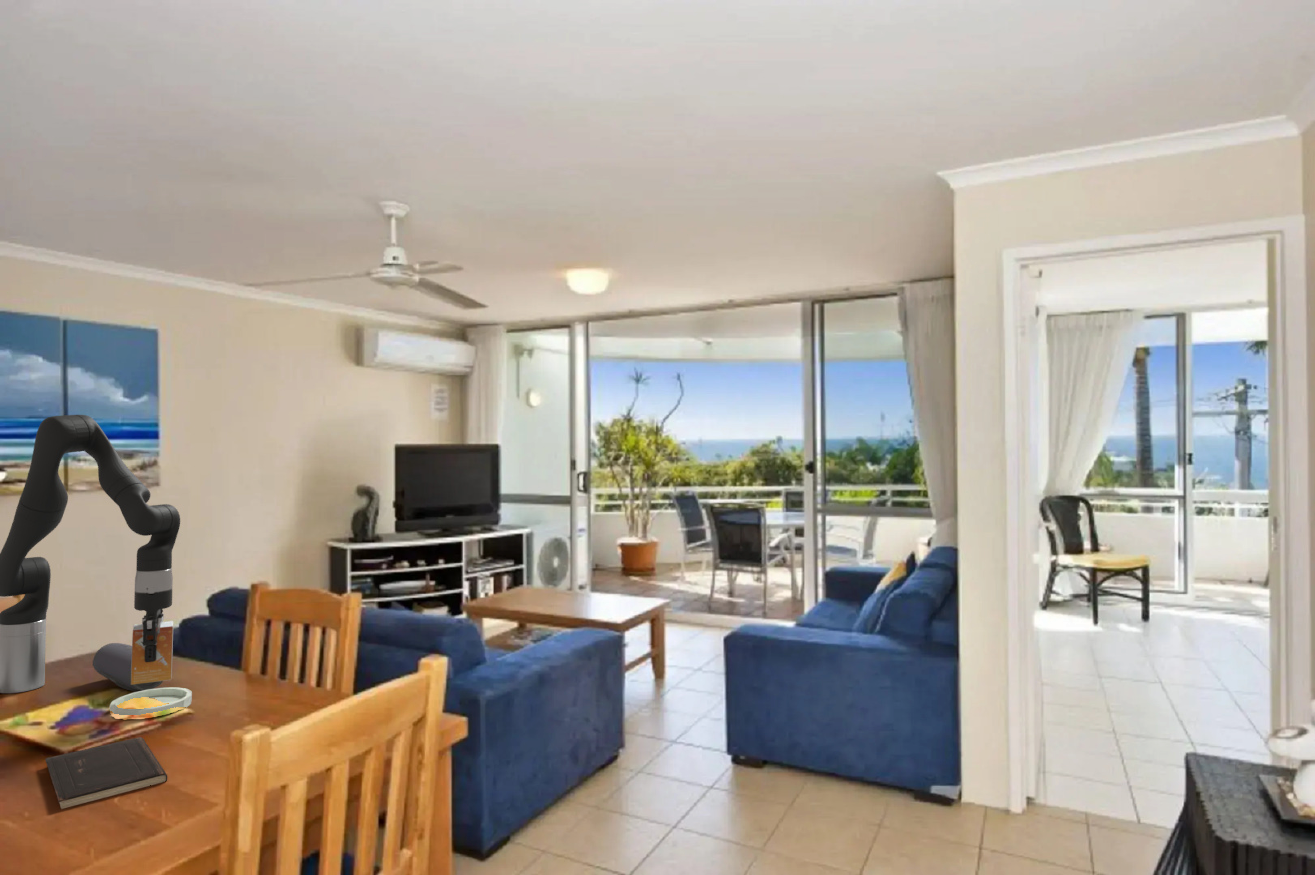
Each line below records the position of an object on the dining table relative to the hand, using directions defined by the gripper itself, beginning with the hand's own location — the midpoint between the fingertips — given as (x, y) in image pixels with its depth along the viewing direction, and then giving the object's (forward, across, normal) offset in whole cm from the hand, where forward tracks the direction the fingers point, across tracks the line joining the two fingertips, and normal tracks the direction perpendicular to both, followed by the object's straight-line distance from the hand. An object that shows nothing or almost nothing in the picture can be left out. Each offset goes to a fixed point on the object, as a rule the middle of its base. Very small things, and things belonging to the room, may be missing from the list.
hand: (152, 657), depth 176 cm
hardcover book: (+13, +38, -3) cm, 40 cm away
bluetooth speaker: (+12, -21, -7) cm, 25 cm away
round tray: (+12, 0, 0) cm, 12 cm away
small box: (+5, 0, 0) cm, 5 cm away
